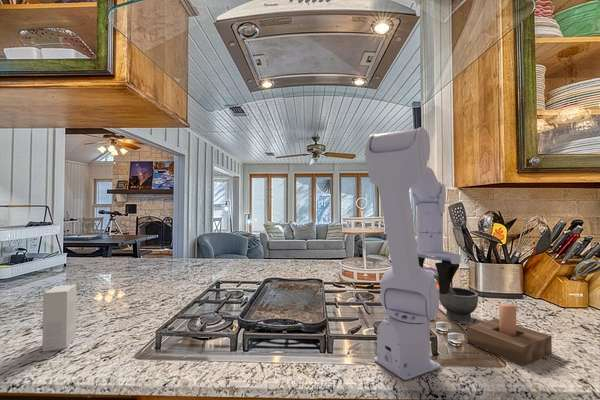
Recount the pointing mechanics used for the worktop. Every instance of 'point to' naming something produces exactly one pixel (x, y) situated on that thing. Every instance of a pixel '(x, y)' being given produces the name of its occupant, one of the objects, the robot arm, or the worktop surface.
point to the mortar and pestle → (458, 302)
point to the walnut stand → (510, 342)
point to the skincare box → (59, 317)
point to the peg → (507, 319)
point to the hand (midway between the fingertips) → (430, 289)
